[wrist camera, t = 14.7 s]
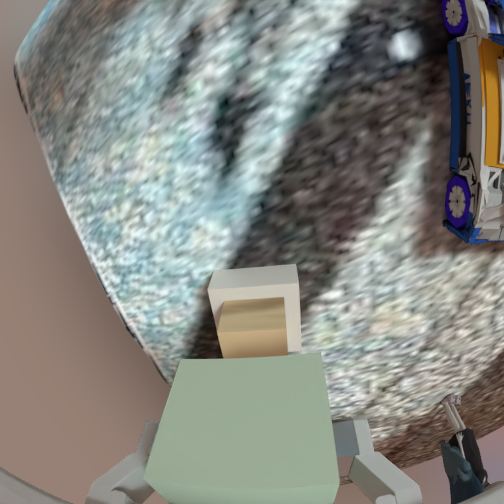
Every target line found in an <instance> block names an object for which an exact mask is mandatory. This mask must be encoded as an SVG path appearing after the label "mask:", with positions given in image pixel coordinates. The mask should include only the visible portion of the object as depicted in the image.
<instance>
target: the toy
mask: <svg viewBox="0 0 504 504" xmlns="http://www.w3.org/2000/svg"><path fill="white" fill-rule="evenodd" d="M460 401H461V397H460V396H455V395H454V394H450V395H449V396H447V397H446V398H445V399H444V400H443V401H442V402H441V404H442V405H443V406H445V410H446V415H447V420H448V421H449V422H450V424H451V425H452V426H453V427H454V435H453V437H452V438H451V439H450V440H449V443H446V444H447V445H446V446H447V447H446V446H445V441H444V440H441V441H439V443H441V451H442V457H443V463H444V468H445V472H446V474H447V476H448V478H449V482H450V493H451V504H458V503H460V502H463V501H465V500H468V499H470V498H472V497H474V496H476V495H479V494H481V493H483V492H485V491H487V490H489V489H491V488H493V487H495V486H497V485H499V484H501V483H502V482H504V481H498V482H495V483H492V484H489V483H488V476H487V472H486V471H485V470H484V469H483V465H482V461H481V456H480V452H479V448H478V445H477V442H476V440H475V436H474V433H473V430H470V429H468V428H467V429H466V428H465V425H464V423H463V422H462V420H461V418H460V416H459V414H458V412H457V410H456V408H455V406H454V404H460ZM460 405H461V404H460ZM450 408H451V409H450ZM439 443H438V444H439Z"/></svg>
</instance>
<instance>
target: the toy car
mask: <svg viewBox="0 0 504 504" xmlns="http://www.w3.org/2000/svg"><path fill="white" fill-rule="evenodd" d="M441 9H442V14H443V20H444V26H445V27H446V29H447V30H448V31H449V33H450V34H453V35H456V36H459V37H457V38H455V39H452V40H451V41H447V48H448V58H449V70H450V87H451V145H450V163H449V166H450V170H451V171H454V172H455V173H458V174H460V175H462V176H455V177H454V178H453V179H452V180H451V181H450V182H449V183H448V184H447V194H446V202H445V208H446V214H447V219H448V220H443V226H446V227H447V228H448V230H450V231H451V232H452V233H454V234H455V235H457V236H458V237H459V238H461V239H462V240H463V241H465V242H466V243H471V245H472V244H478V243H482V242H487V241H504V0H443V2H442V4H441Z"/></svg>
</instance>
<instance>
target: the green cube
mask: <svg viewBox="0 0 504 504" xmlns="http://www.w3.org/2000/svg"><path fill="white" fill-rule="evenodd" d="M143 479H144V480H145V481H146V482H147V483H148V484H149V485H150V486H151V487H152V488H153V489H154V490H155V491H157V492H158V493H159V494H160V495H161V496H162V497H163V498H164V499H165V500H166V501H167V502H168V503H169V504H333V502H334V499H335V496H336V493H337V490H338V487H339V484H340V481H339V473H338V464H337V456H336V448H335V441H334V433H333V426H332V419H331V412H330V405H329V399H328V392H327V386H326V380H325V374H324V368H323V362H322V356H321V352H319V353H309V354H298V355H286V356H272V357H254V358H231V359H181V360H180V363H179V366H178V369H177V372H176V375H175V378H174V381H173V384H172V387H171V391H170V394H169V397H168V400H167V403H166V406H165V409H164V412H163V415H162V418H161V422H160V424H159V428H158V431H157V434H156V437H155V440H154V444H153V447H152V450H151V453H150V457H149V460H148V463H147V466H146V470H145V473H144V476H143Z"/></svg>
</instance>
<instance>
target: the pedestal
mask: <svg viewBox="0 0 504 504" xmlns="http://www.w3.org/2000/svg"><path fill="white" fill-rule="evenodd" d="M208 294H209V299H210V303H211V307H212V312H213V316H214V320H215V324H216V329H217V330H218V326H219V322H220V317H221V313H222V309H223V305H224V301H231V300H247V299H261V298H274V297H284V303H285V316H286V329H287V343H288V352H291V351H302V350H301V322H300V300H299V282H298V275H297V269H296V264H290V265H278V266H266V267H254V268H241V269H228V270H215V271H214V272H213V275H212V278H211V281H210V284H209V287H208Z"/></svg>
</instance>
